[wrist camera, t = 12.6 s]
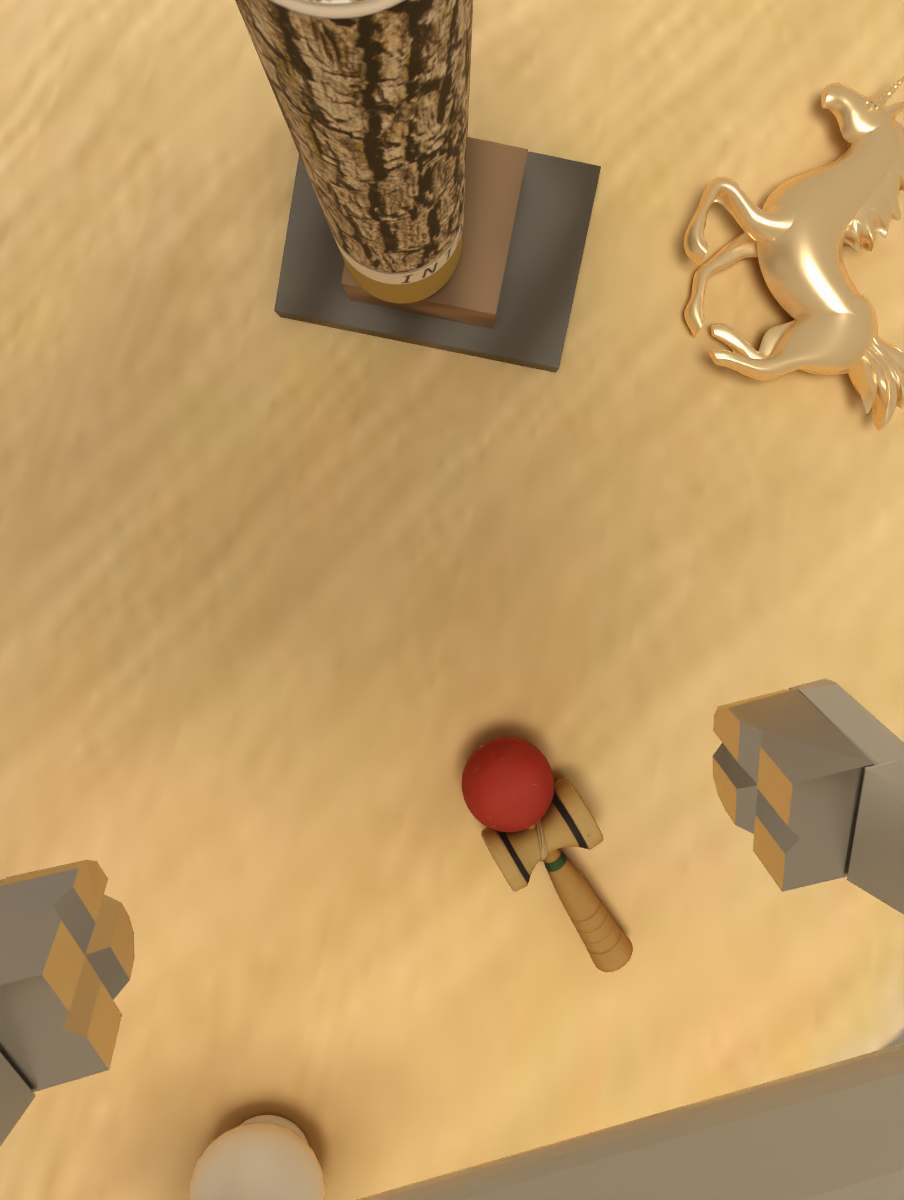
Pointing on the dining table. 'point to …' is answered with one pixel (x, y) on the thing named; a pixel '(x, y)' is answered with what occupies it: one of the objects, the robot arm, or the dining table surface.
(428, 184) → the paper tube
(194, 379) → the dining table surface
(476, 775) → the kendama
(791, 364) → the unicorn
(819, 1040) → the dining table surface
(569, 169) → the plinth
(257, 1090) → the dining table surface
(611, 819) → the dining table surface
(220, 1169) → the flower vase
